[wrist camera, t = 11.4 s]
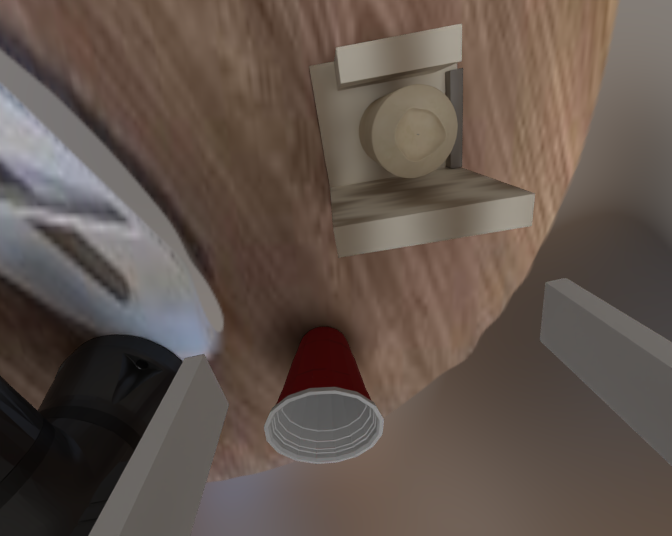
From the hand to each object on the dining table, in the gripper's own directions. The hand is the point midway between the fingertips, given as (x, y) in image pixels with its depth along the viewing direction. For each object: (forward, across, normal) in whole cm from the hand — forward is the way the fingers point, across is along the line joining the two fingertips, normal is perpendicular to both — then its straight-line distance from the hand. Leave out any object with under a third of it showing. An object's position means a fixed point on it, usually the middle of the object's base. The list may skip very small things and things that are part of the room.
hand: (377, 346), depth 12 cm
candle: (+20, +6, +6) cm, 22 cm away
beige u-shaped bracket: (+21, +6, +6) cm, 23 cm away
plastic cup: (+22, -5, -16) cm, 28 cm away
